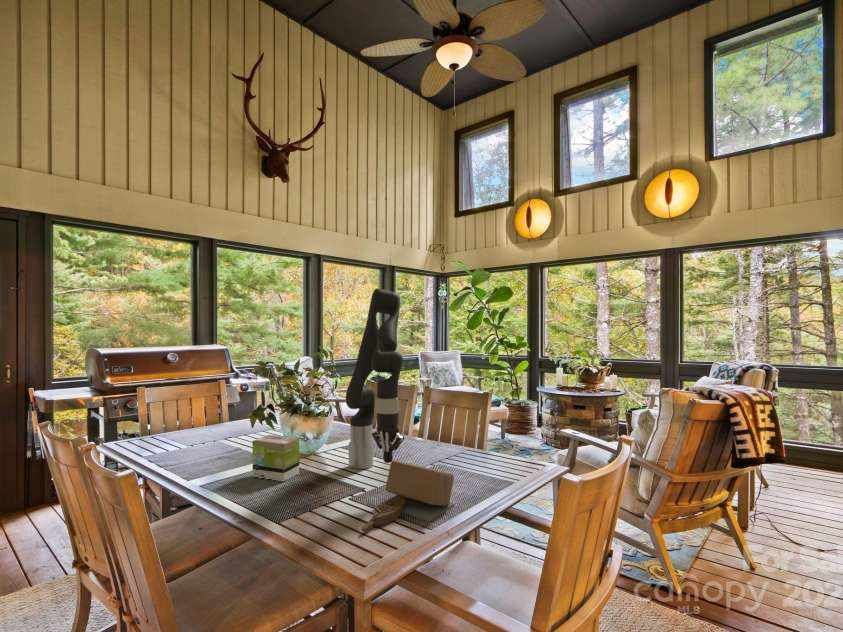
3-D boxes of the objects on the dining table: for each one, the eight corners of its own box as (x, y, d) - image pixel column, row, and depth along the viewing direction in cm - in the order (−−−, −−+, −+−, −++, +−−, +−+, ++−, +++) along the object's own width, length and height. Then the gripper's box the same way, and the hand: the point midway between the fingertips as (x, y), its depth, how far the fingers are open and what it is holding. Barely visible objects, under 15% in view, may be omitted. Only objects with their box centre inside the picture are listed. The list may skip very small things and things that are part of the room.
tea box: (251, 478, 174) (251, 440, 174) (268, 470, 183) (268, 434, 183) (284, 483, 168) (283, 443, 169) (300, 474, 178) (299, 436, 178)
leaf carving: (353, 532, 128) (352, 522, 128) (392, 501, 148) (391, 493, 148) (375, 537, 125) (374, 527, 125) (412, 505, 144) (411, 496, 144)
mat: (378, 506, 146) (378, 504, 146) (405, 492, 157) (405, 490, 157) (429, 521, 134) (429, 519, 134) (454, 505, 146) (454, 503, 146)
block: (383, 491, 149) (432, 505, 137) (390, 459, 152) (439, 471, 140) (401, 493, 156) (450, 507, 144) (408, 463, 159) (455, 474, 147)
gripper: (409, 411, 152) (410, 462, 152) (380, 406, 160) (380, 456, 159) (395, 414, 146) (396, 468, 146) (365, 410, 154) (365, 461, 153)
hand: (387, 462), depth 153 cm, fingers closed
